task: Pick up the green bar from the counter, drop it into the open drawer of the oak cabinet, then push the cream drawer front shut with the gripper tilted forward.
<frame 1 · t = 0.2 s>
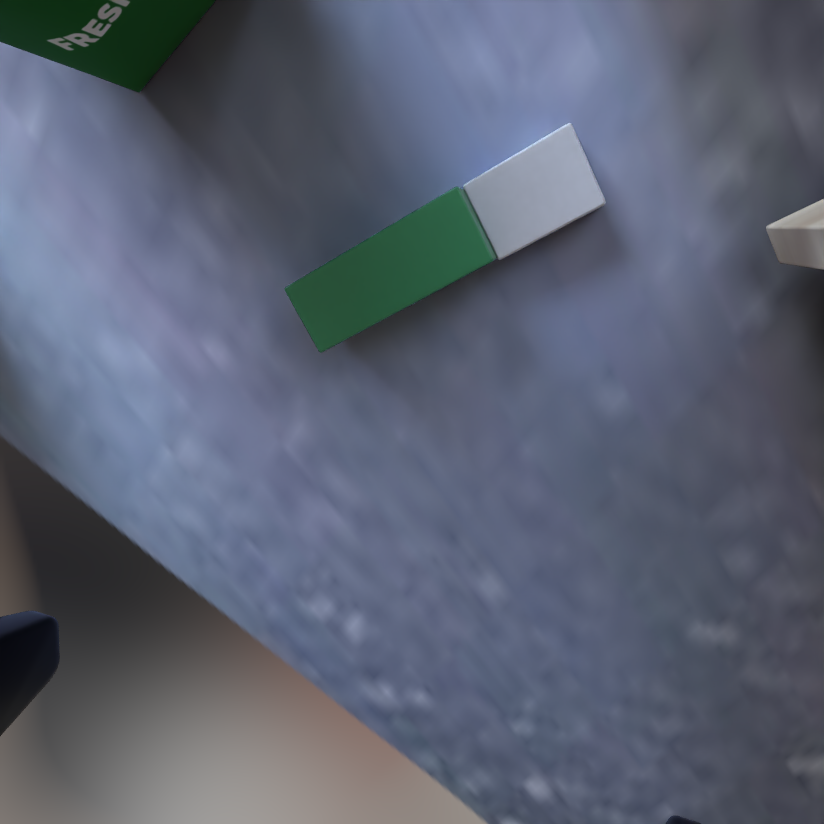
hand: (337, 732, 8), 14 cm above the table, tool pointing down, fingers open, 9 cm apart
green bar: (446, 244, 20), on the table
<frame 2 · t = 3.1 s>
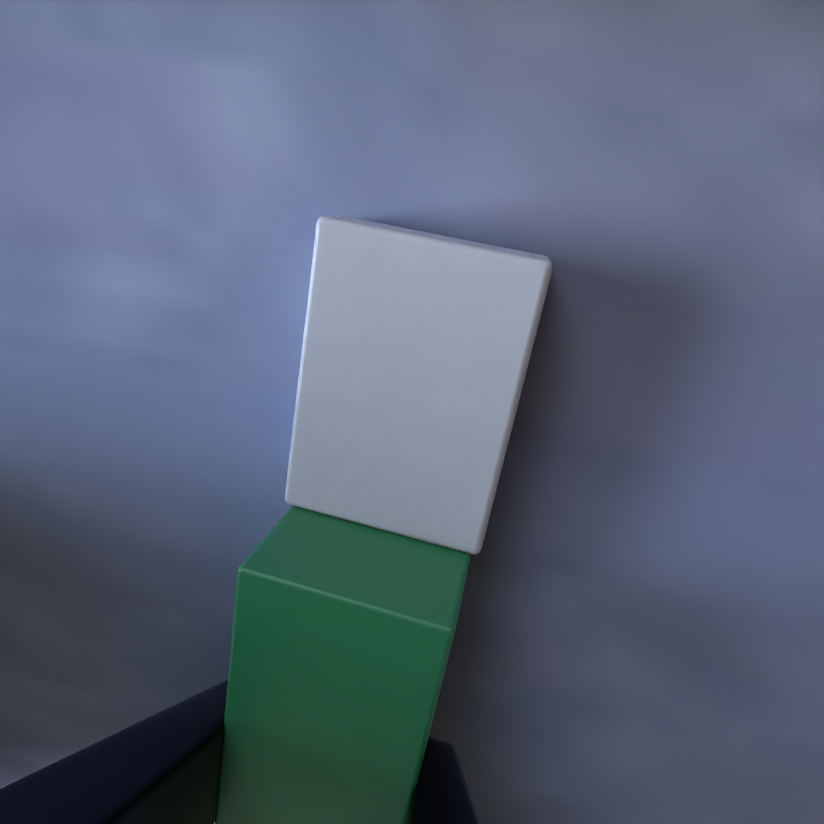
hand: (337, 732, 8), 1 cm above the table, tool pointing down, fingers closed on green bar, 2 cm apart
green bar: (380, 579, 9), on the table, touching gripper
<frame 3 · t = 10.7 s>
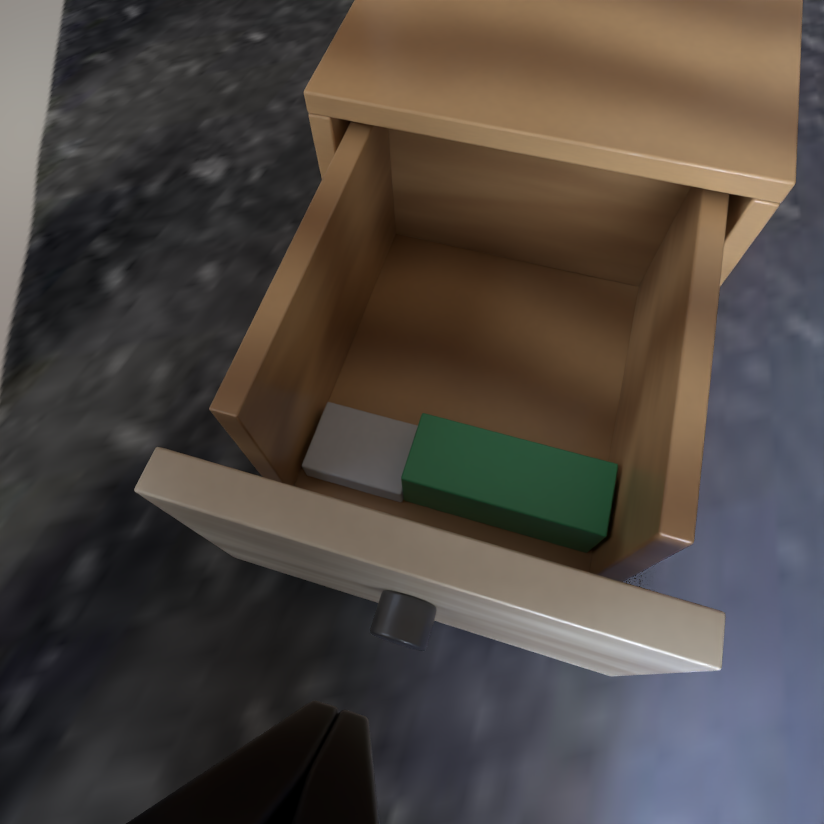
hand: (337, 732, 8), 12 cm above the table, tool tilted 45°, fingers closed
cabinet: (537, 185, 29), on the table
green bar: (451, 480, 21), point 2 cm above the table, touching drawer
drawer: (473, 380, 19), point 5 cm above the table, slide at 11.7 cm, touching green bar
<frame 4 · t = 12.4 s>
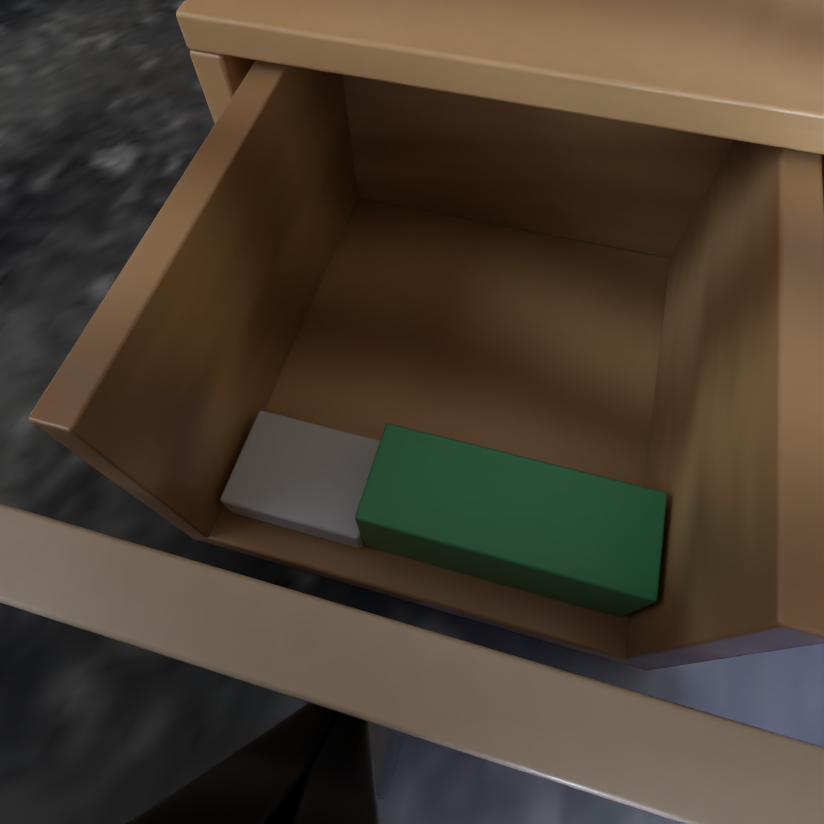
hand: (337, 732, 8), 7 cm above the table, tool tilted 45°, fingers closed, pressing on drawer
cabinet: (526, 175, 23), on the table
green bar: (429, 515, 15), point 2 cm above the table, touching drawer
drawer: (458, 376, 14), point 5 cm above the table, slide at 10.0 cm, touching gripper, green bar
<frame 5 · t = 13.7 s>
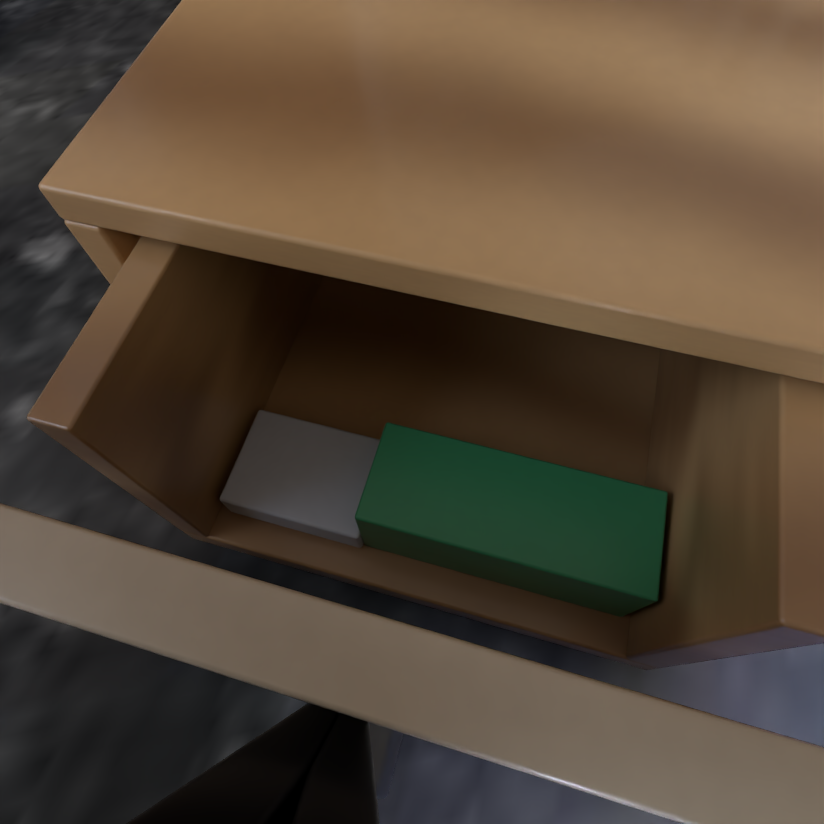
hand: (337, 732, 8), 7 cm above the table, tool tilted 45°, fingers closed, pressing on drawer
cabinet: (499, 273, 21), on the table
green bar: (430, 515, 15), point 2 cm above the table, touching drawer
drawer: (458, 375, 14), point 5 cm above the table, slide at 4.9 cm, touching gripper, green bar
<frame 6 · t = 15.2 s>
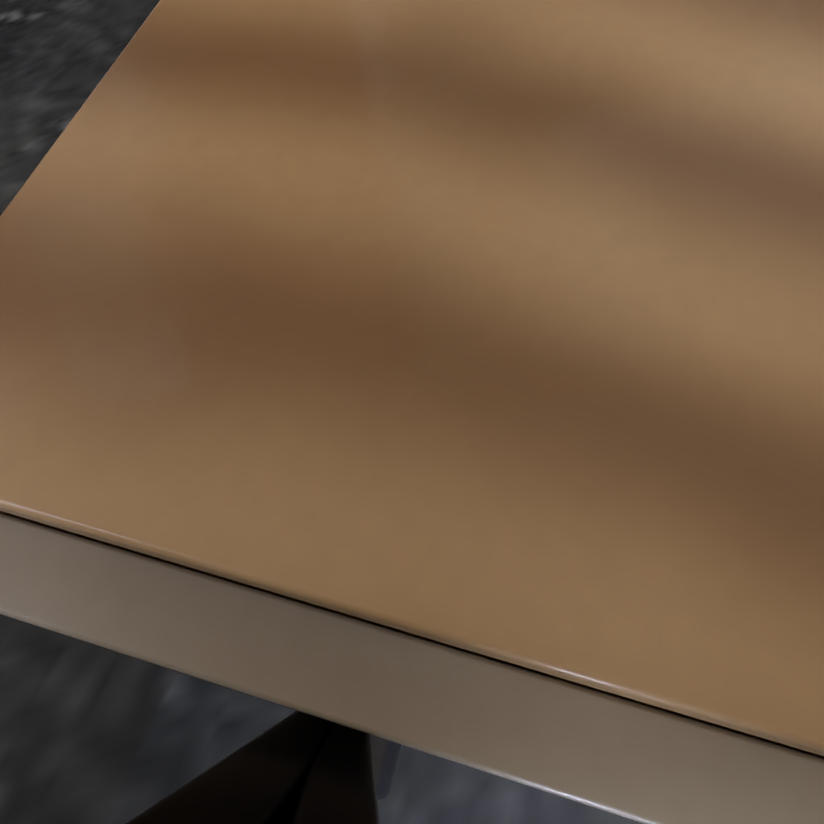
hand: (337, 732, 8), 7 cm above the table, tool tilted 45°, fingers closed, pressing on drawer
cabinet: (469, 380, 19), on the table
drawer: (458, 370, 13), point 5 cm above the table, slide at 0.0 cm, touching cabinet, gripper, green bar
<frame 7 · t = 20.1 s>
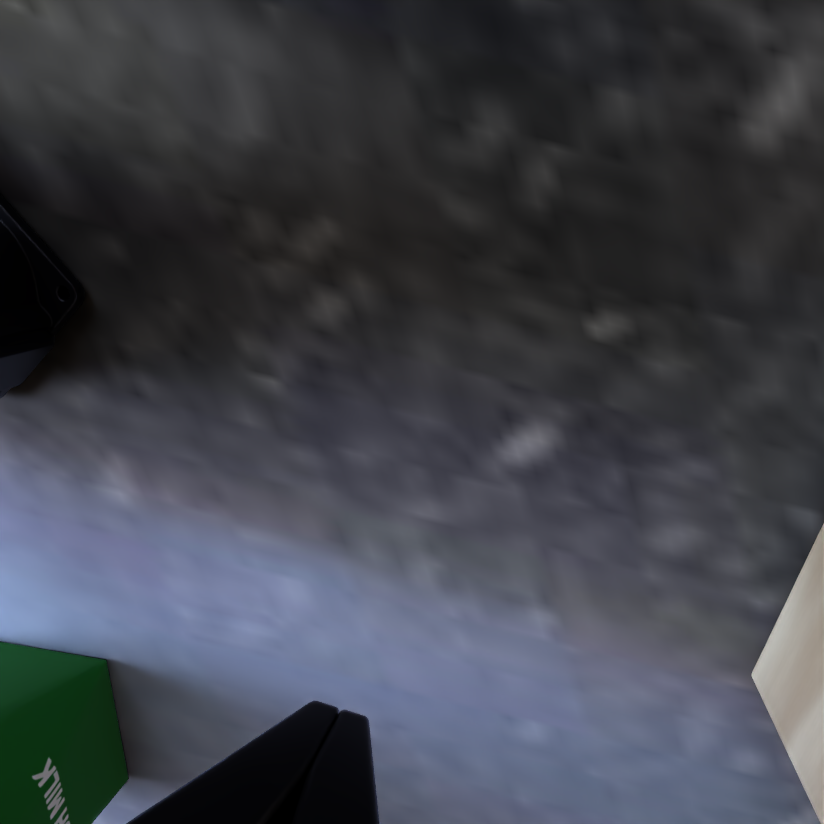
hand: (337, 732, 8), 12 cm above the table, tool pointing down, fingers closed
soya milk: (55, 704, 28), on the table
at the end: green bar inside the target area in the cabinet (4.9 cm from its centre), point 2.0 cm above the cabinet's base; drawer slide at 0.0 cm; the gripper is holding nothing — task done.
